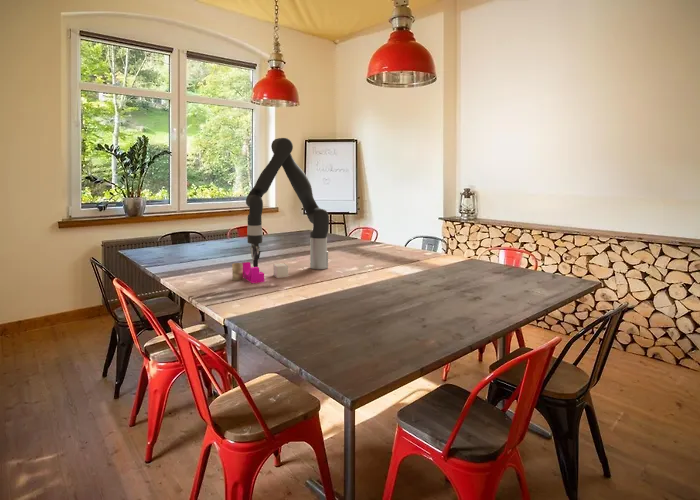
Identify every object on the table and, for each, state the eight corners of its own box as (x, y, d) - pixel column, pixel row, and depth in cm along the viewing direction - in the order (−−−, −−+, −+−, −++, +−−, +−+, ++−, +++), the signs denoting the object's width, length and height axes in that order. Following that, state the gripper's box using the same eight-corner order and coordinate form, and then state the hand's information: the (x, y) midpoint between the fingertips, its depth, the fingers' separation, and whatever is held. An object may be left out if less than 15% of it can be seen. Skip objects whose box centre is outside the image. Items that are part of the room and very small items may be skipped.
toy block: (264, 282, 223) (264, 267, 222) (251, 283, 220) (251, 268, 219) (254, 275, 236) (253, 261, 235) (242, 277, 233) (241, 262, 232)
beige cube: (284, 274, 240) (284, 263, 239) (288, 277, 234) (288, 265, 233) (273, 275, 237) (273, 264, 236) (276, 278, 232) (276, 266, 231)
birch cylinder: (241, 278, 230) (241, 262, 228) (243, 280, 225) (243, 264, 224) (231, 279, 228) (231, 263, 226) (233, 281, 223) (233, 265, 222)
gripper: (265, 235, 230) (265, 268, 233) (259, 231, 242) (259, 263, 245) (250, 235, 227) (251, 270, 230) (244, 232, 239) (245, 264, 242)
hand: (255, 266), depth 238 cm, fingers closed
